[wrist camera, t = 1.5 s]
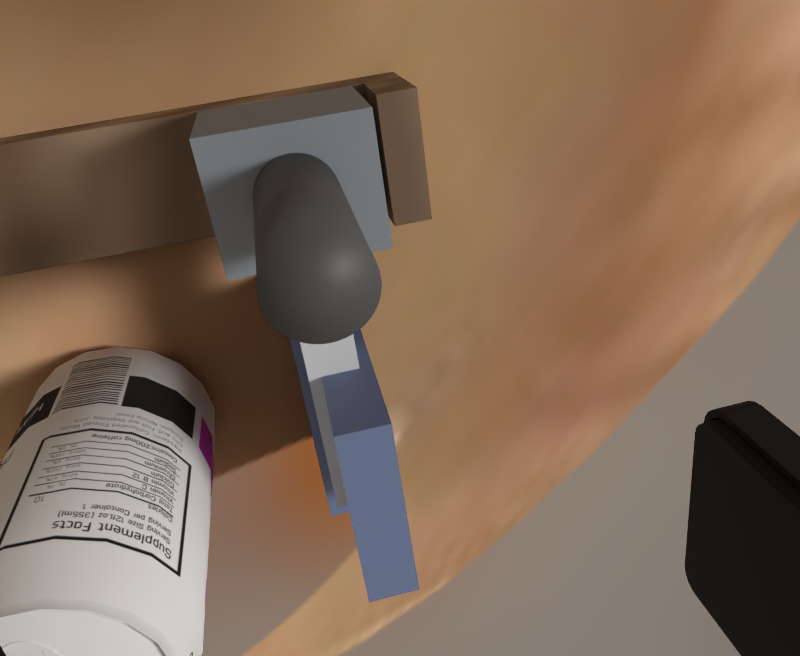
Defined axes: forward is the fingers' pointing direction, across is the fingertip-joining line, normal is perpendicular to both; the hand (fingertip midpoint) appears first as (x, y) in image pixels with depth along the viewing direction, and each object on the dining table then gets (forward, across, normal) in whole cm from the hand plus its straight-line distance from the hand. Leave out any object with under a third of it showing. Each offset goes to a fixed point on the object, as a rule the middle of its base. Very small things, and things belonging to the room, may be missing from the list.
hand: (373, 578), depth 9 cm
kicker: (+23, 0, +7) cm, 24 cm away
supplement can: (+24, +10, +10) cm, 28 cm away
